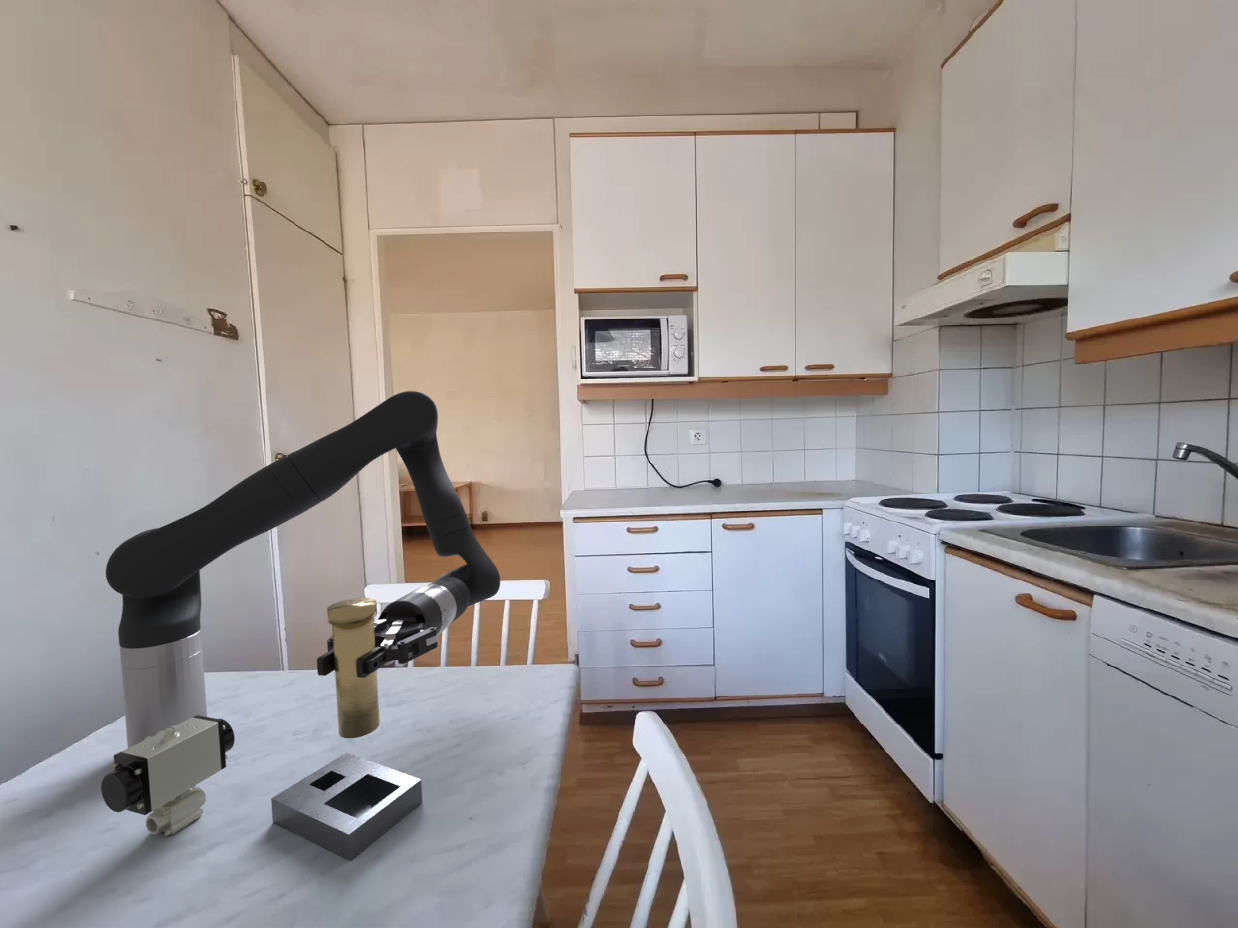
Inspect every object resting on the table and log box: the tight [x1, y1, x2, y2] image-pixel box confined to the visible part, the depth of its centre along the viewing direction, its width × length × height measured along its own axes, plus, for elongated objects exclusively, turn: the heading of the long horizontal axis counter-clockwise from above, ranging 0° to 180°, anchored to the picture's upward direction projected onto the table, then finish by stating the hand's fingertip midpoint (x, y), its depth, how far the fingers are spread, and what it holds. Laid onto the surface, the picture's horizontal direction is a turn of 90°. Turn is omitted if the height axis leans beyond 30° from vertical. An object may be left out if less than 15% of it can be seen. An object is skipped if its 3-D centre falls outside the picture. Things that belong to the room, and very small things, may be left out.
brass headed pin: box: [326, 597, 381, 739], centre depth 63 cm, size 5×5×15 cm
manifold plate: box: [270, 752, 423, 862], centre depth 65 cm, size 14×10×3 cm
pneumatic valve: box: [100, 715, 236, 837], centre depth 63 cm, size 6×12×12 cm, turn 162°
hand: (340, 668), depth 60 cm, fingers closed on brass headed pin, 4 cm apart
